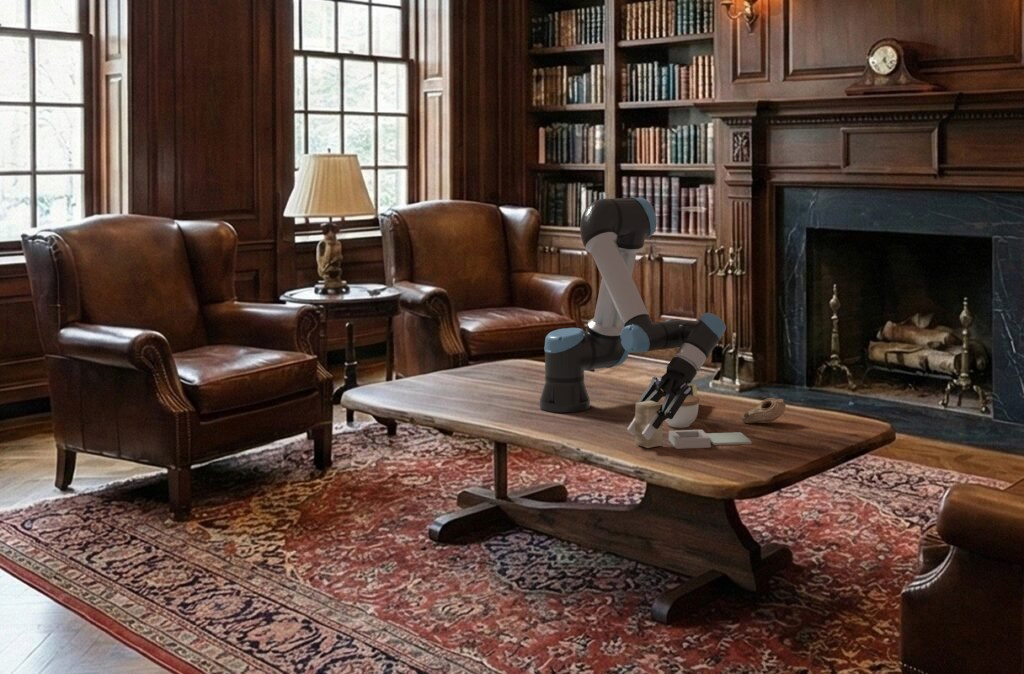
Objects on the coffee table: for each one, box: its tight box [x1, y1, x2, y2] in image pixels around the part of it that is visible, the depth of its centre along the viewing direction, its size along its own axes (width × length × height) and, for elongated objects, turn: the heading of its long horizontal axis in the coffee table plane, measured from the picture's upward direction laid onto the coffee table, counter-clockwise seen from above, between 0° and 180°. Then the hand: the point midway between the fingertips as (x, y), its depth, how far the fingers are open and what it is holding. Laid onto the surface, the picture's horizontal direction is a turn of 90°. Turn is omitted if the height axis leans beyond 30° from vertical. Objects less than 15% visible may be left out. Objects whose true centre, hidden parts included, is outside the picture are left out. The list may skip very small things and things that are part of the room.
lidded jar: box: [659, 395, 700, 428], centre depth 316 cm, size 11×11×9 cm
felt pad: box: [705, 431, 752, 446], centre depth 300 cm, size 10×10×1 cm
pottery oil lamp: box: [740, 397, 787, 424], centre depth 317 cm, size 9×12×7 cm
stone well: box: [668, 429, 712, 450], centre depth 297 cm, size 9×9×2 cm
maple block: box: [634, 400, 664, 449], centre depth 294 cm, size 5×5×11 cm
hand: (638, 434), depth 293 cm, fingers closed on maple block, 5 cm apart
